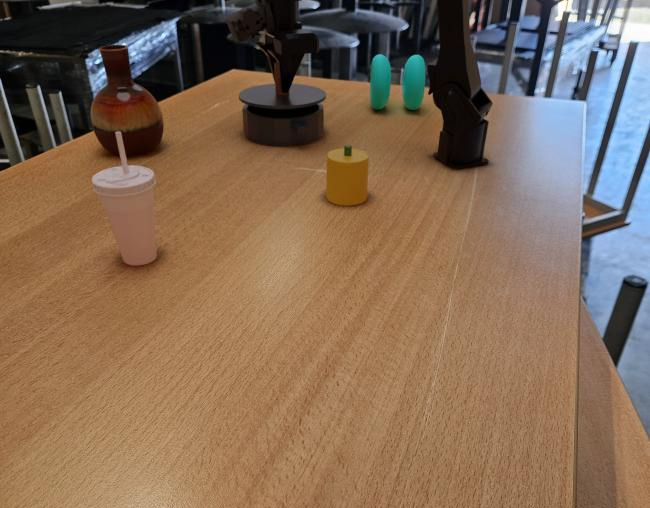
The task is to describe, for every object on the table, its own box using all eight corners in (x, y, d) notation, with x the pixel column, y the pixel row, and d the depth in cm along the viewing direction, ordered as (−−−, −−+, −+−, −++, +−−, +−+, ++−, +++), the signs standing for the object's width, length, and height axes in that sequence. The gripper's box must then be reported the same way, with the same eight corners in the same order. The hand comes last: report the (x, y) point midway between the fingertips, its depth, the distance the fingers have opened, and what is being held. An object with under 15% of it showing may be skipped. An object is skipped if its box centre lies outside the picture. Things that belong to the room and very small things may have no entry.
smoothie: (180, 251, 66) (160, 129, 58) (144, 276, 62) (117, 148, 54) (136, 240, 69) (111, 121, 60) (98, 264, 64) (65, 138, 56)
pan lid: (306, 86, 107) (305, 50, 103) (340, 106, 96) (341, 67, 92) (228, 94, 102) (225, 57, 98) (254, 117, 91) (252, 76, 87)
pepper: (355, 187, 82) (357, 137, 78) (373, 201, 78) (376, 149, 74) (320, 193, 80) (320, 142, 76) (336, 208, 76) (337, 155, 72)
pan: (300, 114, 112) (299, 90, 109) (342, 144, 97) (343, 117, 95) (230, 122, 107) (228, 97, 104) (264, 155, 93) (263, 127, 90)
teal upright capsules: (422, 116, 111) (428, 60, 105) (371, 115, 111) (374, 60, 105) (416, 102, 119) (421, 50, 113) (368, 101, 119) (371, 49, 113)
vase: (181, 145, 96) (166, 45, 87) (130, 165, 89) (109, 57, 80) (135, 134, 101) (117, 38, 92) (83, 152, 94) (58, 49, 85)
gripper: (212, -19, 93) (221, 82, 102) (246, -7, 79) (254, 109, 88) (276, -21, 97) (280, 77, 106) (320, -10, 83) (320, 102, 92)
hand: (282, 90), depth 98 cm, fingers closed on pan lid, 2 cm apart
